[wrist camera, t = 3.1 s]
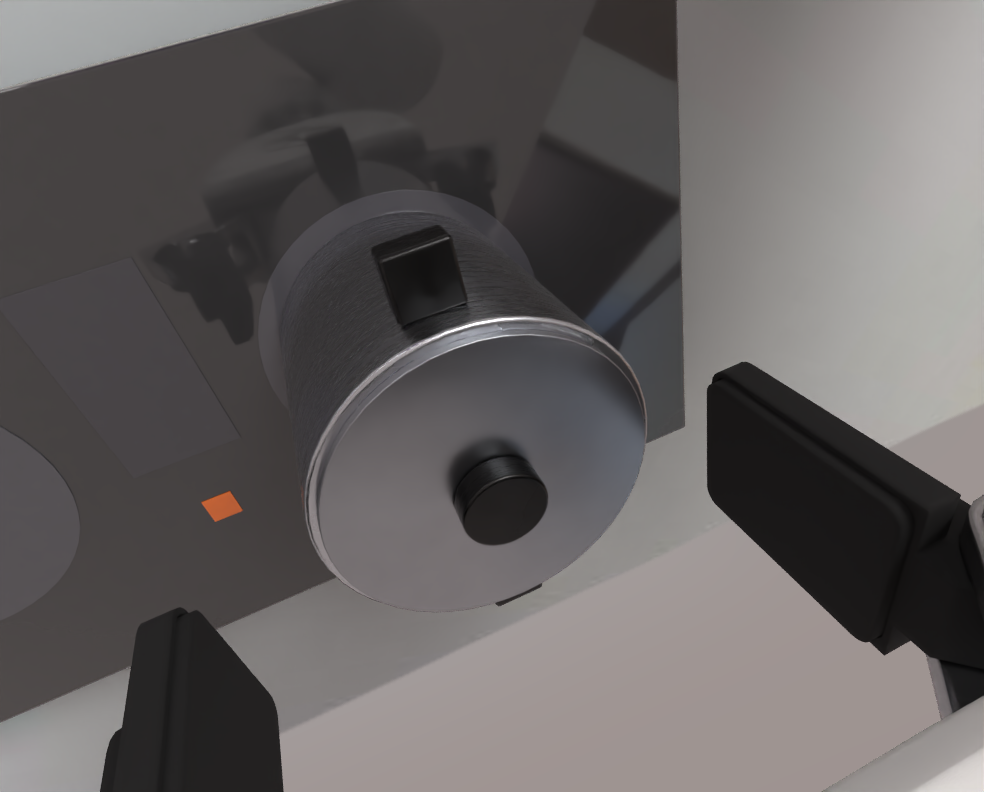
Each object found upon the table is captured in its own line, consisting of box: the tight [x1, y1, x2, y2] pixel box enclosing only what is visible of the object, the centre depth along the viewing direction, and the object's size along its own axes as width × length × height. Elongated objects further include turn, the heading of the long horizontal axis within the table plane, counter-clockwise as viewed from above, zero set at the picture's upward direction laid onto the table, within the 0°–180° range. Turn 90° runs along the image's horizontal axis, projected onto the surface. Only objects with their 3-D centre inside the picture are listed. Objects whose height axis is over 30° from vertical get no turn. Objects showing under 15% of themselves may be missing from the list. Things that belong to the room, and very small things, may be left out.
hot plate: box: [0, 0, 685, 723], centre depth 16 cm, size 30×15×2 cm, turn 102°
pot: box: [280, 212, 647, 612], centre depth 13 cm, size 7×9×7 cm
